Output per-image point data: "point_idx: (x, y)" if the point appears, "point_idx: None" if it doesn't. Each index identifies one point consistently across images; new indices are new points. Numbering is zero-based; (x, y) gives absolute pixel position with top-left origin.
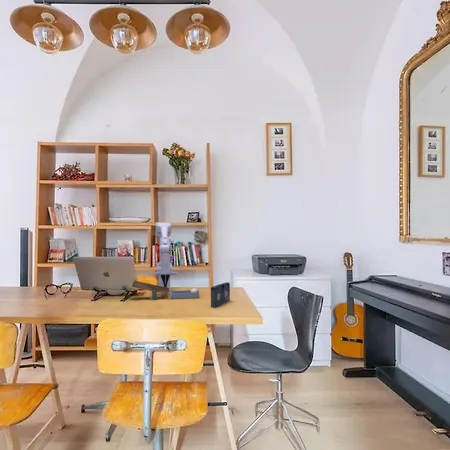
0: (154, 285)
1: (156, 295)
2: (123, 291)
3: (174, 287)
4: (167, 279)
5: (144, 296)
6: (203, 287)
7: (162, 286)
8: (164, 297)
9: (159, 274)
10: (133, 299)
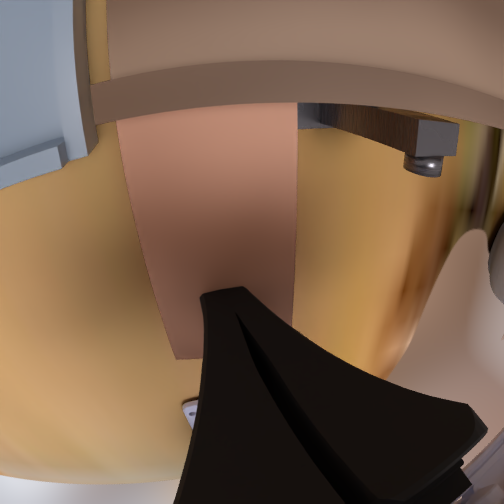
0: (477, 91)
1: (319, 114)
2: (501, 248)
3: None
4: (226, 459)
5: None
6: (20, 472)
7: None
8: None
9: (486, 477)
10: None
